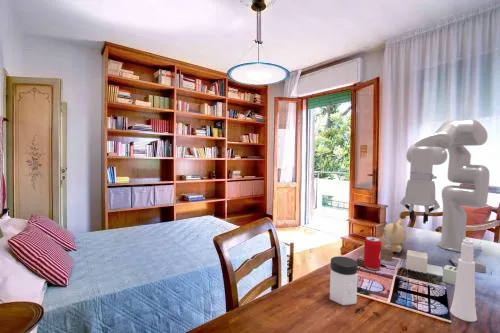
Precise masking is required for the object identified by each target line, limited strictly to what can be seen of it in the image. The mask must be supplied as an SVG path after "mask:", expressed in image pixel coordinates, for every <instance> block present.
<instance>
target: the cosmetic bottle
mask: <svg viewBox="0 0 500 333" xmlns="http://www.w3.org/2000/svg"><path fill="white" fill-rule="evenodd" d="M474 250H475V246H474V241H473V240H469V239H465V240H463V243H462V244H461V252H460V254H461V258H460V259H459V260H458V267H457V275H456V284H455V285H454V292H453V298H452V301H451V302H452V303H451V307H450V309H449V313H450V314H451V315H452V316H454V317H456V318H457V319H459V320H461V321H464V322H470V323H473V322H476V321H477V320H478V316H477V311H476V310H477V309H476V296H475V295H476V294H475V293H476V292H475V290H476V287H475V285H476V276H475V275H476V272H475V262H473V257H474Z"/></svg>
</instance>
